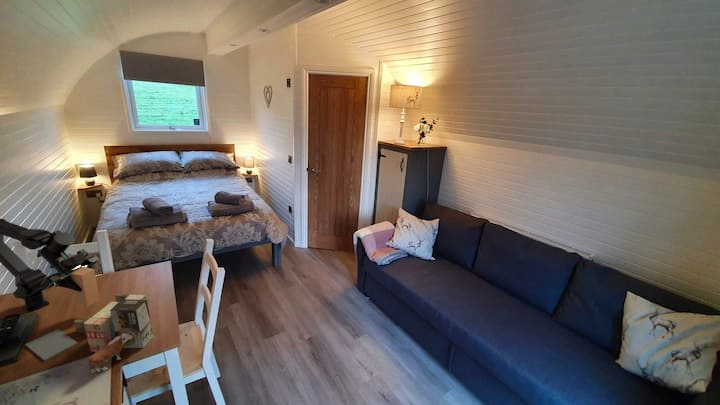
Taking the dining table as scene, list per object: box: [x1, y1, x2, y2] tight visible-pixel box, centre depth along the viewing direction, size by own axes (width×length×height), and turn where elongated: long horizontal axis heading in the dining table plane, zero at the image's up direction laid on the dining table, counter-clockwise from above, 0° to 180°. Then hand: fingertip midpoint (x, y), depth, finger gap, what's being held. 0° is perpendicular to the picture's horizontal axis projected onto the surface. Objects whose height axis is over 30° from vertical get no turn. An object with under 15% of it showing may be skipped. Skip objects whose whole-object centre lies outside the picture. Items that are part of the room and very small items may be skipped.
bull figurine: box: [87, 332, 133, 374], centre depth 103 cm, size 4×13×8 cm, turn 161°
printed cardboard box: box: [84, 294, 147, 353], centre depth 116 cm, size 21×6×12 cm, turn 179°
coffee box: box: [110, 299, 154, 349], centre depth 111 cm, size 9×6×16 cm
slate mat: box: [25, 328, 79, 362], centre depth 109 cm, size 14×9×1 cm, turn 64°
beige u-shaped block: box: [73, 293, 130, 334], centre depth 124 cm, size 9×18×4 cm, turn 172°
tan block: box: [69, 267, 101, 308], centre depth 121 cm, size 5×5×14 cm
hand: (88, 287), depth 121 cm, fingers closed on tan block, 5 cm apart
